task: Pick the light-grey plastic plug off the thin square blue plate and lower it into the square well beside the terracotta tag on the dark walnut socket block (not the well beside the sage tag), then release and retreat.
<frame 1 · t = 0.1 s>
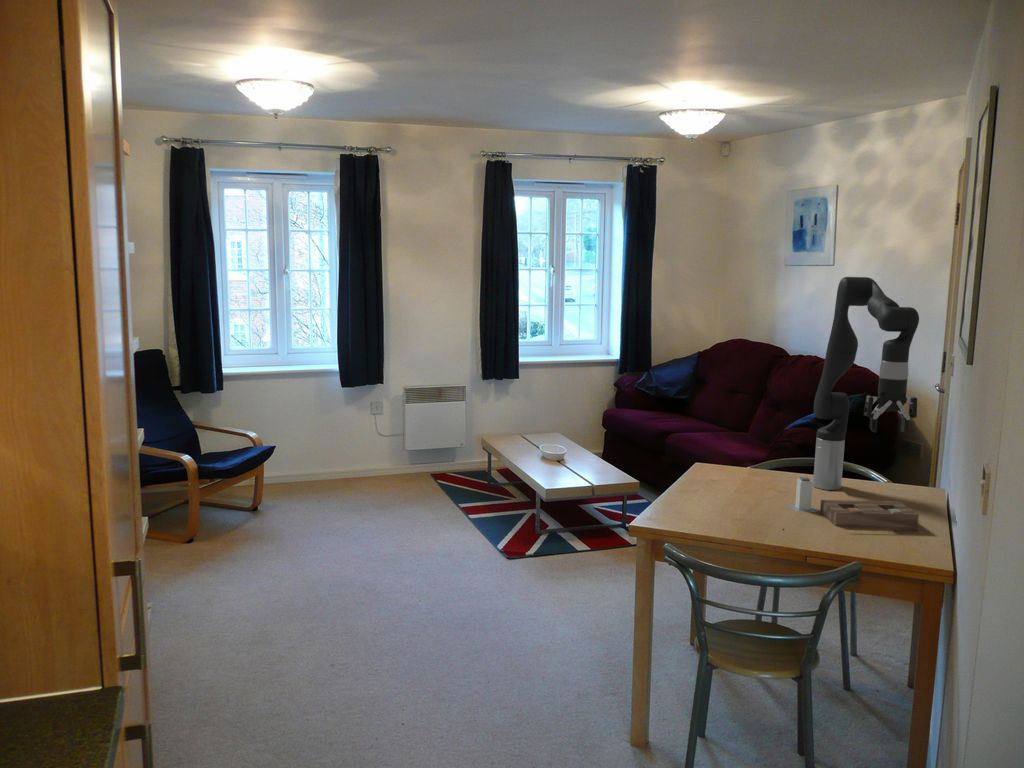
hand: (888, 431, 247), 29 cm above the table, tool pointing down, fingers open, 8 cm apart
plug: (802, 508, 266), point 1 cm above the table, touching thin square blue plate
thin square blue plate: (802, 511, 266), on the table
socket block: (867, 522, 256), on the table
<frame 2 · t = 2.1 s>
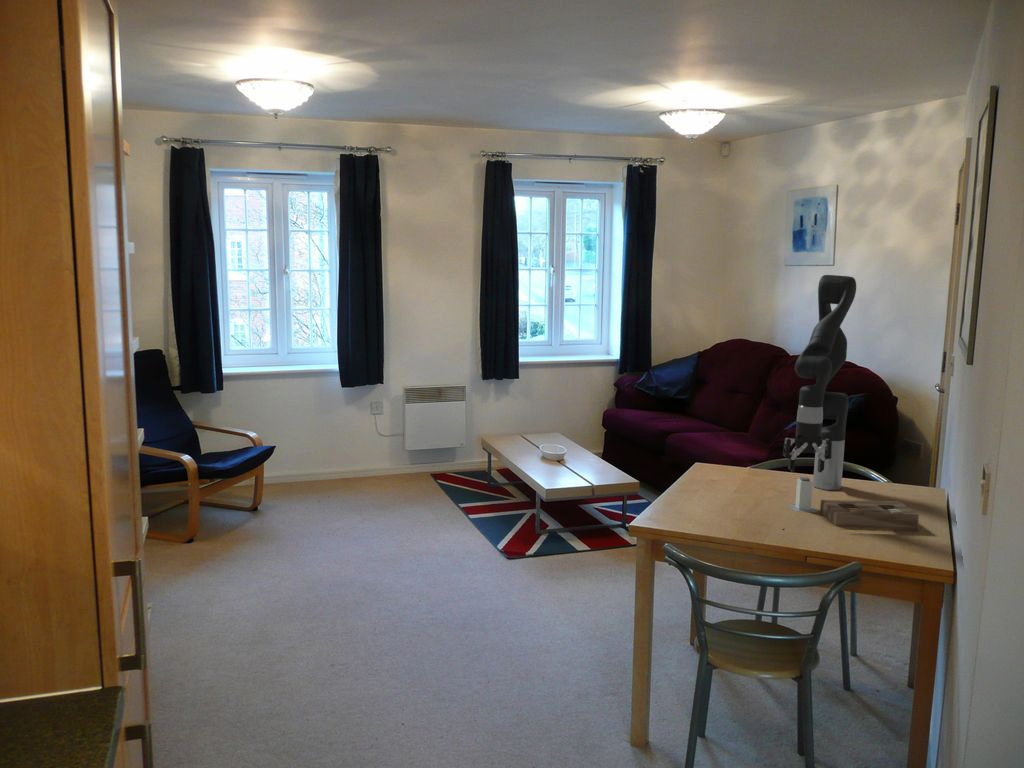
hand: (805, 471, 264), 13 cm above the table, tool pointing down, fingers open, 8 cm apart
nothing on the table moved.
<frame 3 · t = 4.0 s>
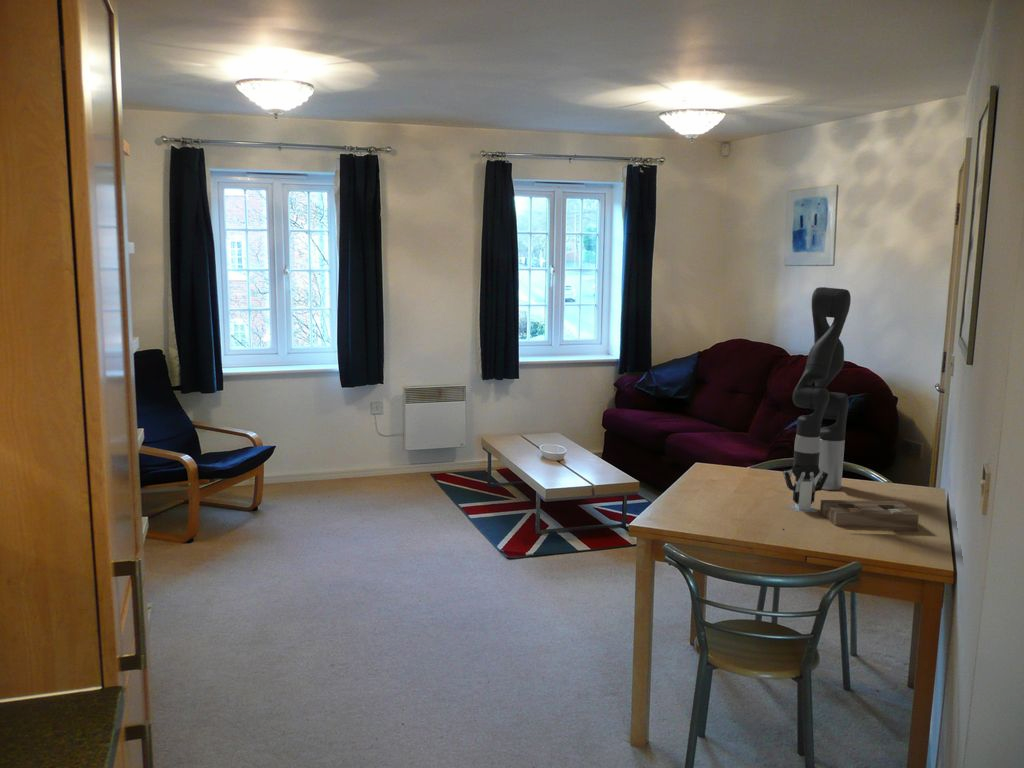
hand: (803, 502, 266), 3 cm above the table, tool pointing down, fingers closed on plug, 3 cm apart
plug: (802, 508, 266), point 1 cm above the table, touching thin square blue plate, gripper
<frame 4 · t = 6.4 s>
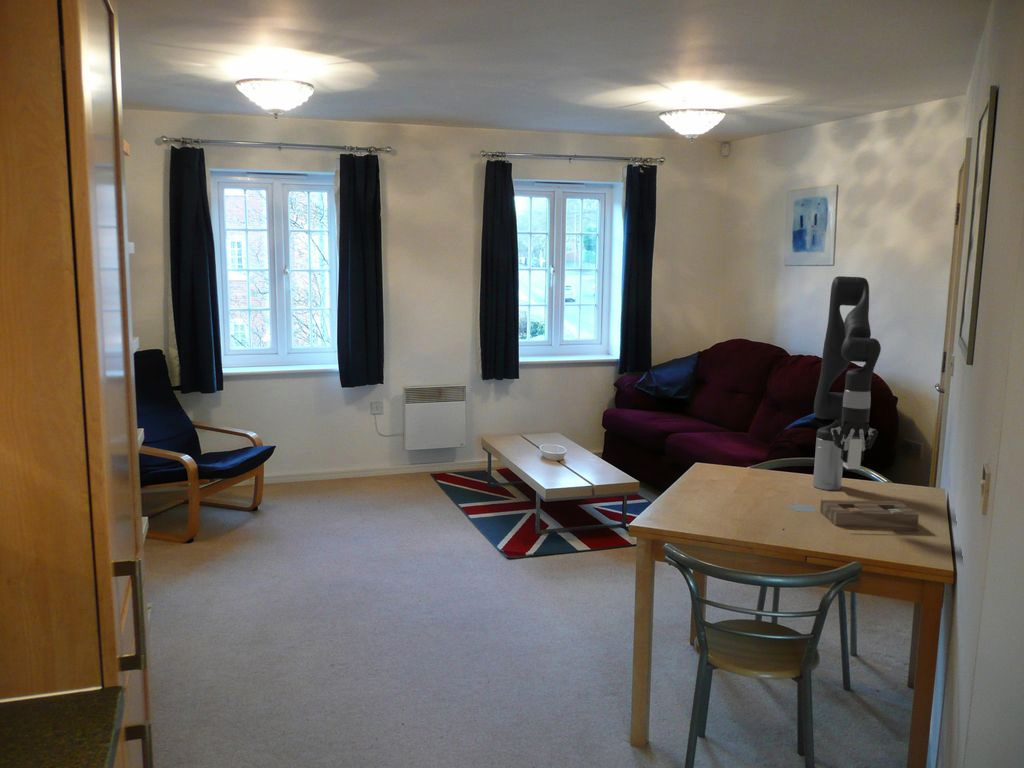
hand: (851, 462, 253), 19 cm above the table, tool pointing down, fingers closed on plug, 3 cm apart
plug: (851, 467, 253), point 17 cm above the table, touching gripper
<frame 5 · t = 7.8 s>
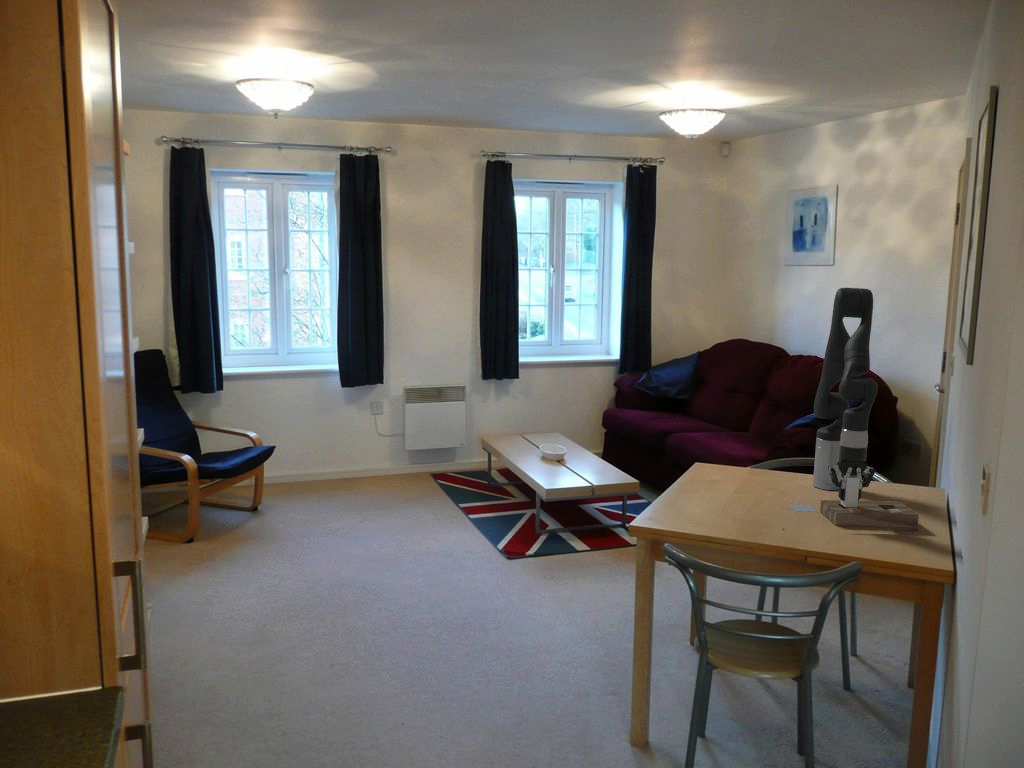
hand: (849, 499, 254), 7 cm above the table, tool pointing down, fingers closed on plug, 3 cm apart
plug: (848, 505, 255), point 5 cm above the table, touching gripper
when the fingers open (5 cm above the table, at t = 8.8 s): plug drops 3 cm, resting on socket block.
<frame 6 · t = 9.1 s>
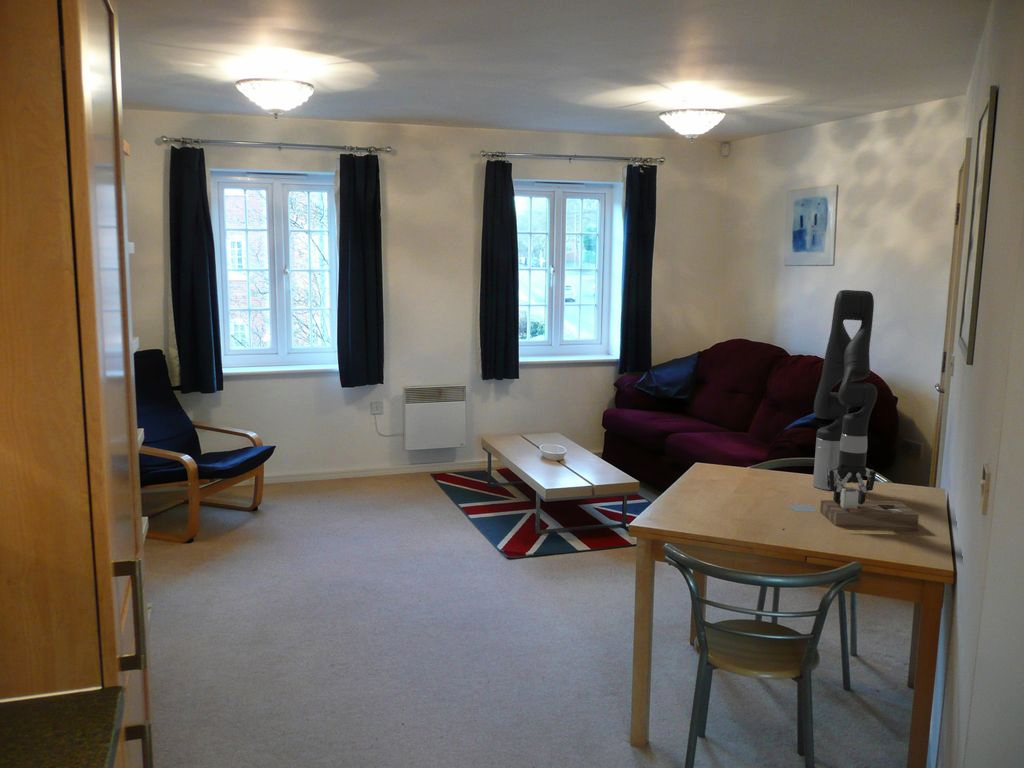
hand: (848, 503, 255), 6 cm above the table, tool pointing down, fingers open, 6 cm apart
plug: (847, 519, 255), point 1 cm above the table, touching socket block
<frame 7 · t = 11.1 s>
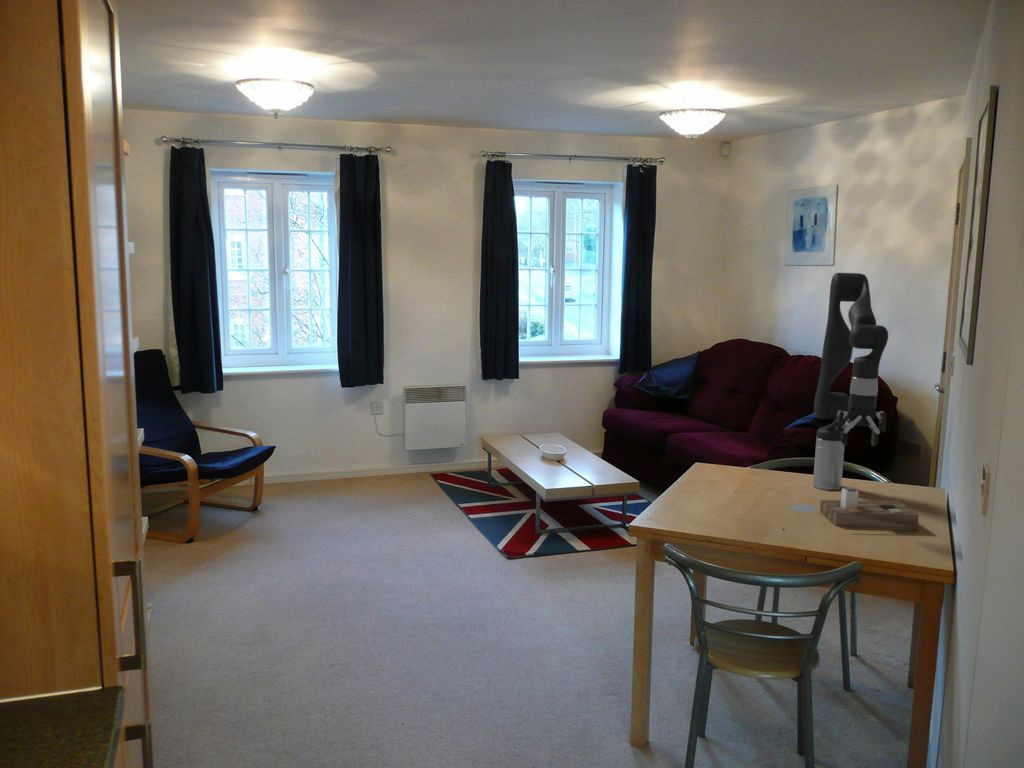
hand: (858, 445, 255), 23 cm above the table, tool pointing down, fingers open, 8 cm apart
nothing on the table moved.
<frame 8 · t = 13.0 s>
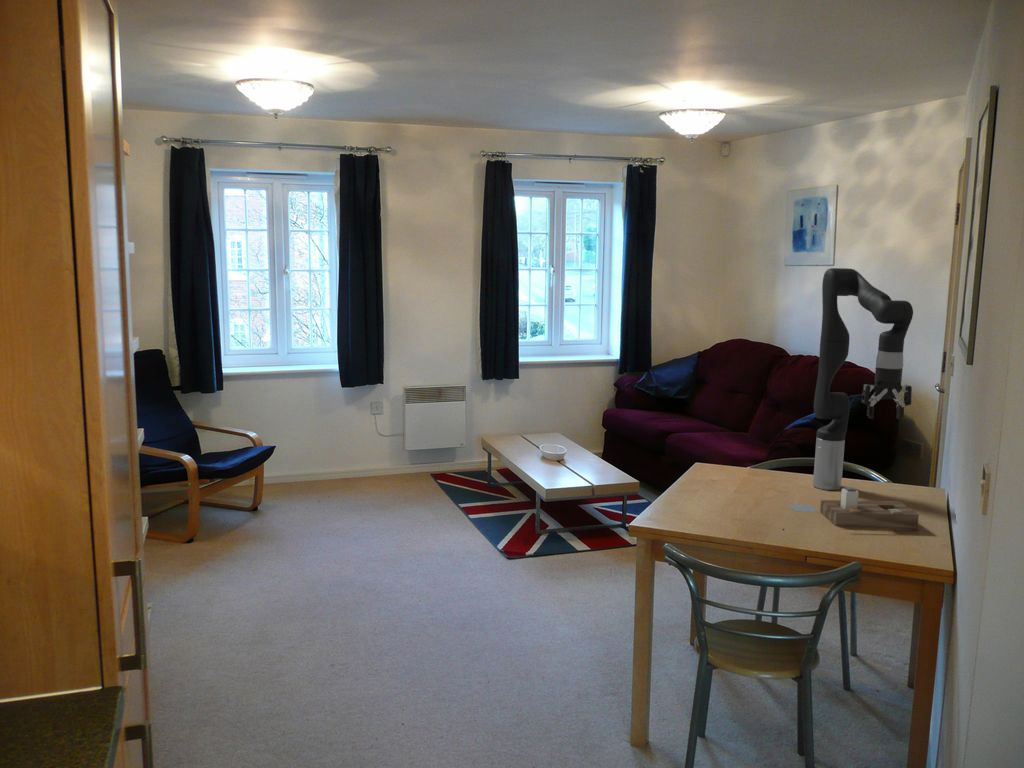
hand: (884, 418, 261), 30 cm above the table, tool pointing down, fingers open, 8 cm apart
nothing on the table moved.
at the end: plug 0.1 cm from the target spot on the socket block, point 1.0 cm above the socket block's base; plug tilted 0°; the gripper is holding nothing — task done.
